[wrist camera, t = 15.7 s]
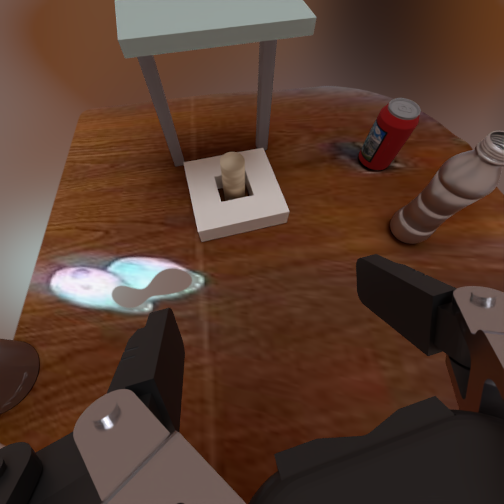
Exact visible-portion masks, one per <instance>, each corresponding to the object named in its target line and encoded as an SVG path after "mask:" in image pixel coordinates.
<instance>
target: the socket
mask: <svg viewBox="0 0 504 504" xmlns="http://www.w3.org/2000/svg"><path fill="white" fill-rule="evenodd" d="M237 153H240V154H241V155H242V156H243V157H244V159H245V183H246V186H247V189H248V192H249V195H250V196H247V197H243V198H238V199H233V200H228V201H224V202H221V199H220V196H219V192H218V189H220V188H223V182H222V174H221V166H220V158H221V157H222V155H221V156H215V157H210V158H204V159H199V160H193V161H188V162H183V163H184V168H185V173H186V177H187V182H188V187H189V192H190V196H191V201H192V206H193V210H194V215H195V220H196V225H197V229H198V233H199V236H200V239H201V242H204V241H208V240H213V239H217V238H221V237H226V236H230V235H234V234H239V233H243V232H247V231H252V230H256V229H260V228H265V227H269V226H274V225H278V224H282V223H287V219H288V215H289V212H290V211H289V209H288V207H287V204H286V202H285V199H284V197H283V195H282V192H281V190H280V187H279V185H278V182H277V180H276V178H275V175H274V173H273V170H272V168H271V166H270V163H269V161H268V158H267V156H266V153H265V151H264V149H263V148H258V149H253V150H248V151H242V152H237Z"/></svg>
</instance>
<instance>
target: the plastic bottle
mask: <svg viewBox="0 0 504 504" xmlns="http://www.w3.org/2000/svg"><path fill="white" fill-rule="evenodd" d="M502 166H504V131H493V132H491V133H490V134H489V135H487V136H486V137H485V138H484V139H483V140H482V141H480V142H479V143H478V144H477V145H476V147H475V150H472V151H467V152H464V153H461V154H458V155H455V156H453V157H452V158H450V159H448V160H447V161H446V162H445V163H444V164H443V165H442V166H441V167H440V169H439V170H438V172H437V173H436V175H435V176H434V177H433V179H432V180H431V182H430V183H429V184H428V185H427V186H426V187H425V189H424V190H423V191H422V192H421V193H420V194H419V195H418V196H417V197H416V198H415V199H414V200H412V201H411V202H410V203H409V204H408V205H406V206H404V207H402V208H401V209H400V210H398V211H397V212H396V213H395V214H394V216H393V217H392V219H391V221H390V228H391V232H392V234H393V235H394V236H395V237H396V238H397V239H398V240H400V241H402V242H404V243H410V244H416V243H420V242H422V241H424V240H426V239H428V238H429V237H430V236H431V235H432V234H433V233H434V231H435V230H436V229H437V228H438V227H439V226H440V225H441V224H442V223H443V222H444V221H445V220H446V219H448V218H449V217H450V216H452V215H453V214H455V213H457V212H458V211H460V210H461V209H463V208H464V207H466V206H468V205H470V204H472V203H473V202H475V201H477V200H479V199H481V198H483V197H485V196H486V195H488V194H489V193H491V192H492V191H493V190H494V189H495V187H496V186H497V185H498V183H499V179H500V176H501V171H502Z"/></svg>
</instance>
